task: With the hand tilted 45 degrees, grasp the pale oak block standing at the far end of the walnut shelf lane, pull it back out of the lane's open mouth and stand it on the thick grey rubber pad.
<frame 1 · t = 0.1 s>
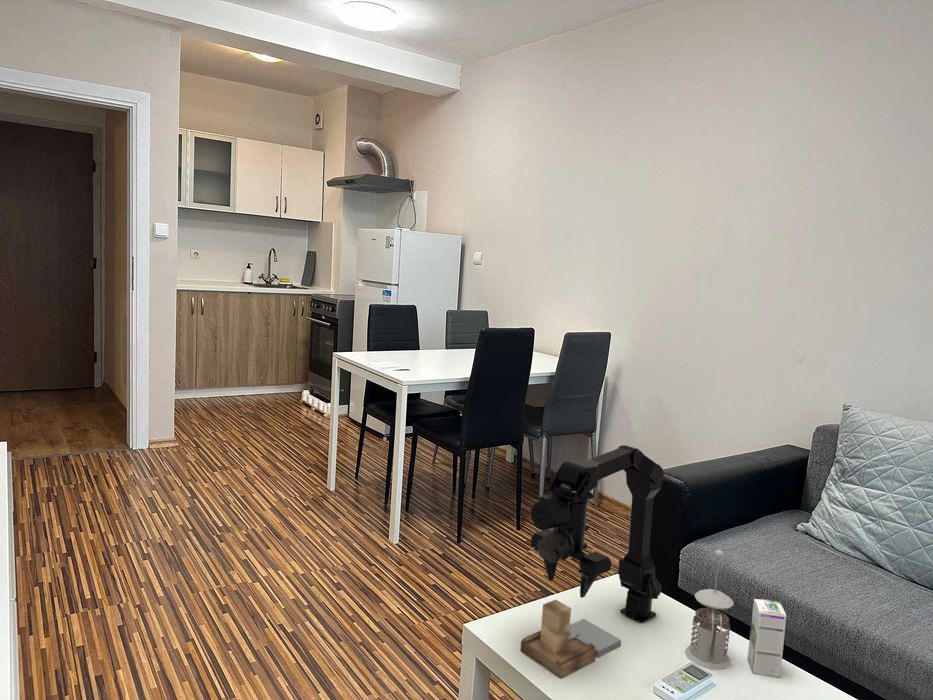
hand: (566, 588, 147), 15 cm above the table, tool pointing down, fingers open, 9 cm apart
oak block: (553, 647, 145), point 2 cm above the table, touching walnut shelf lane
syrup box: (762, 669, 147), on the table
french press: (708, 659, 149), on the table
grey rubber pad: (590, 640, 154), on the table
walnut shelf lane: (557, 656, 147), on the table
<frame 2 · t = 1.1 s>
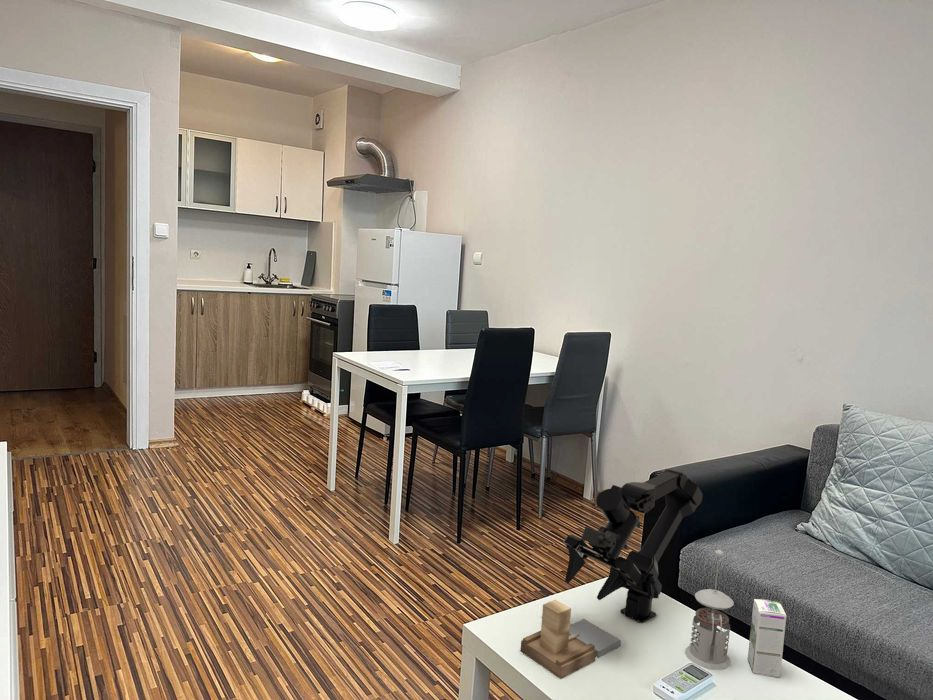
hand: (581, 590, 149), 13 cm above the table, tool tilted 45°, fingers open, 9 cm apart
nothing on the table moved.
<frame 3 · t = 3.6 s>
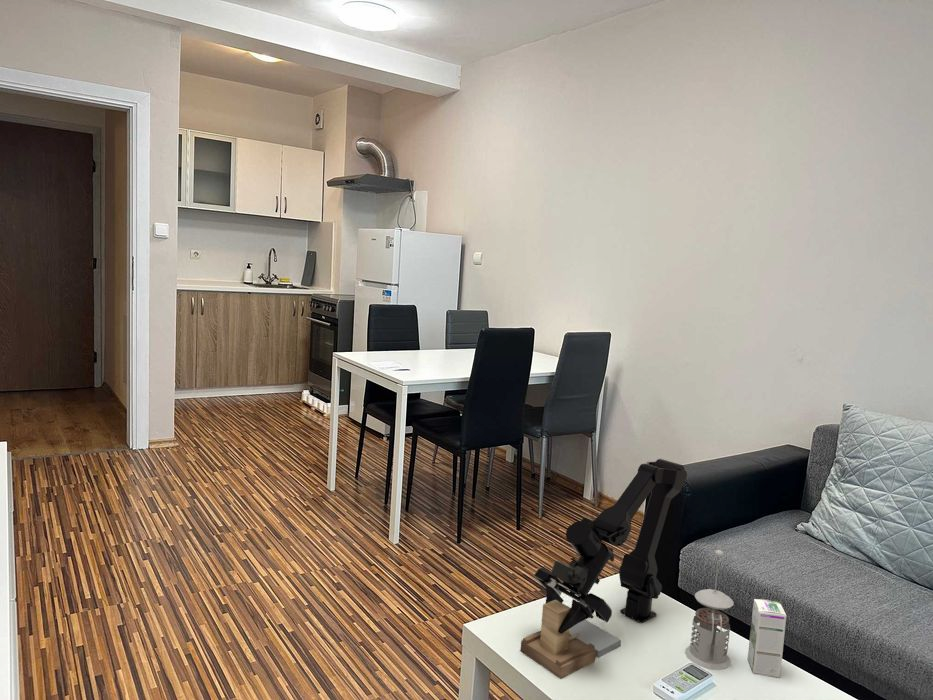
hand: (551, 627, 144), 8 cm above the table, tool tilted 45°, fingers closed on oak block, 4 cm apart
oak block: (553, 647, 145), point 2 cm above the table, touching gripper, walnut shelf lane
everything else where it was.
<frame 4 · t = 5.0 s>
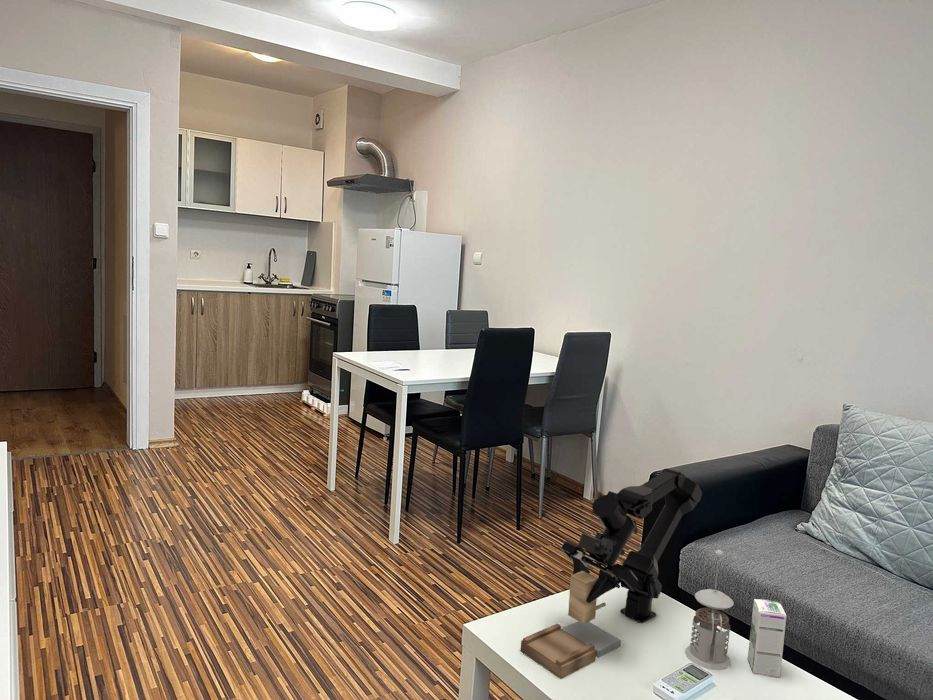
hand: (579, 597, 149), 12 cm above the table, tool tilted 45°, fingers closed on oak block, 4 cm apart
oak block: (581, 616, 151), point 7 cm above the table, touching gripper
everything else where it was.
when the fingers open (7 cm above the table, at t = 6.7 s): oak block stays where it is, resting on grey rubber pad.
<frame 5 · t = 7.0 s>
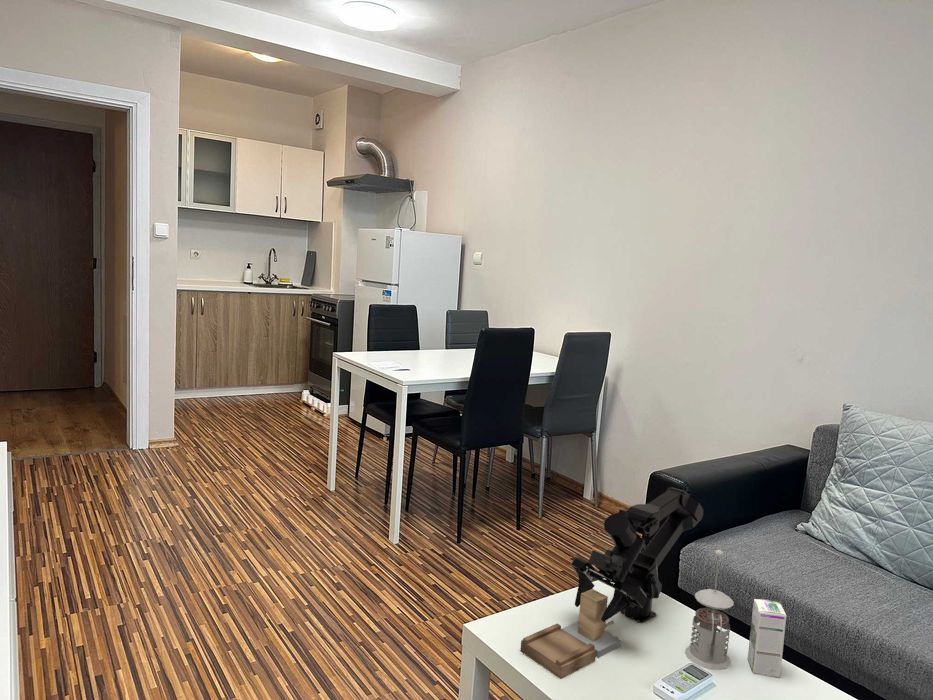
hand: (588, 613, 152), 7 cm above the table, tool tilted 45°, fingers open, 7 cm apart
oak block: (590, 634, 154), point 1 cm above the table, touching grey rubber pad
everything else where it was.
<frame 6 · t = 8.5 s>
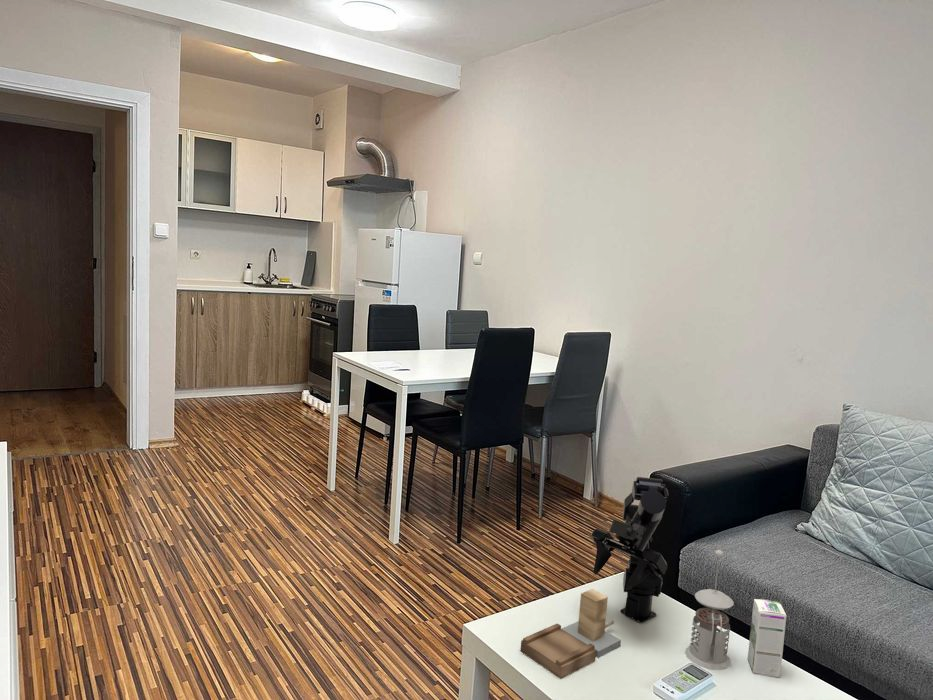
hand: (610, 581, 155), 13 cm above the table, tool tilted 45°, fingers open, 9 cm apart
nothing on the table moved.
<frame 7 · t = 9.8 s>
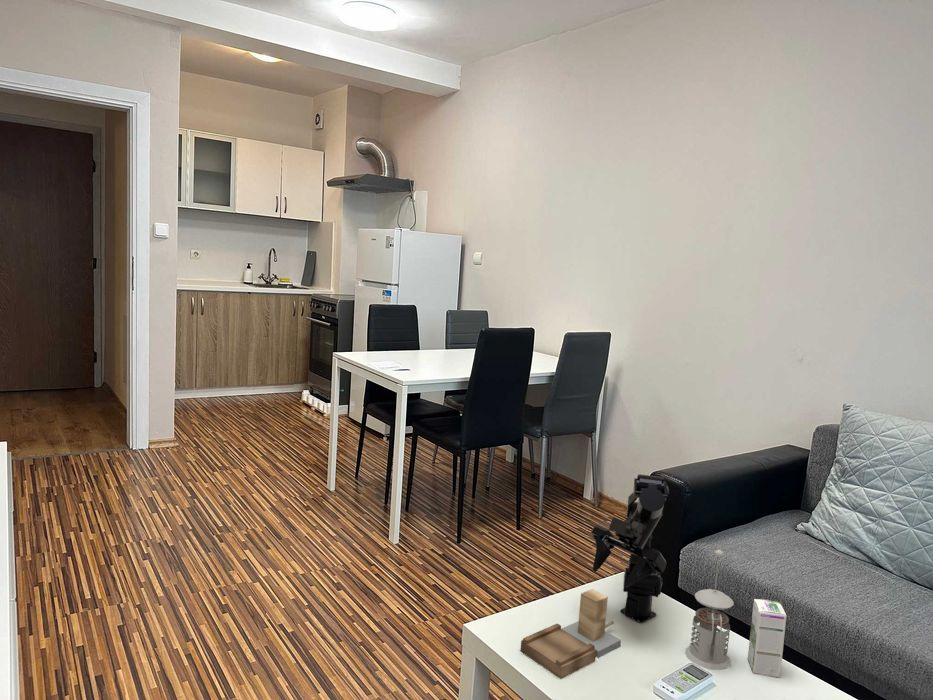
hand: (609, 578, 155), 14 cm above the table, tool tilted 45°, fingers open, 9 cm apart
nothing on the table moved.
at the end: oak block inside the target area (0.2 cm from its centre), point 1.5 cm above the table; oak block tilted 0°; the gripper is holding nothing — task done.
